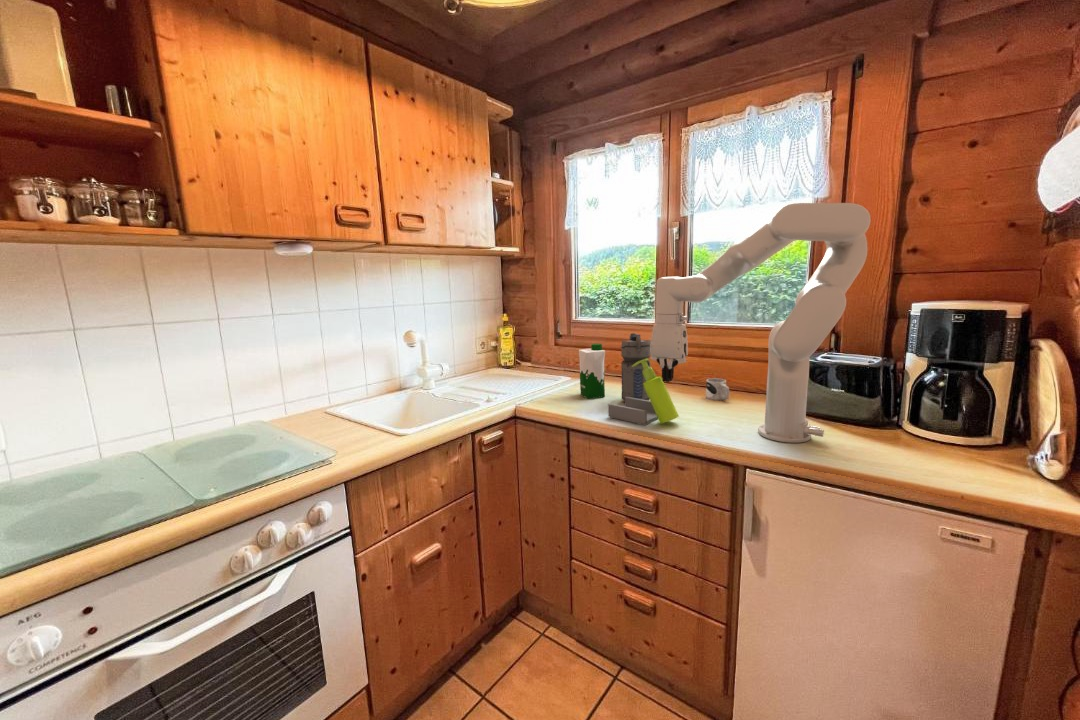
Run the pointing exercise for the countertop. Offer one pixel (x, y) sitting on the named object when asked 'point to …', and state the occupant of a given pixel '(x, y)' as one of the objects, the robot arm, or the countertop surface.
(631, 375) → the beverage bottle
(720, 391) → the mug
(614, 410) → the cradle
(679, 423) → the countertop surface
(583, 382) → the soya milk
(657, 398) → the soap dispenser
